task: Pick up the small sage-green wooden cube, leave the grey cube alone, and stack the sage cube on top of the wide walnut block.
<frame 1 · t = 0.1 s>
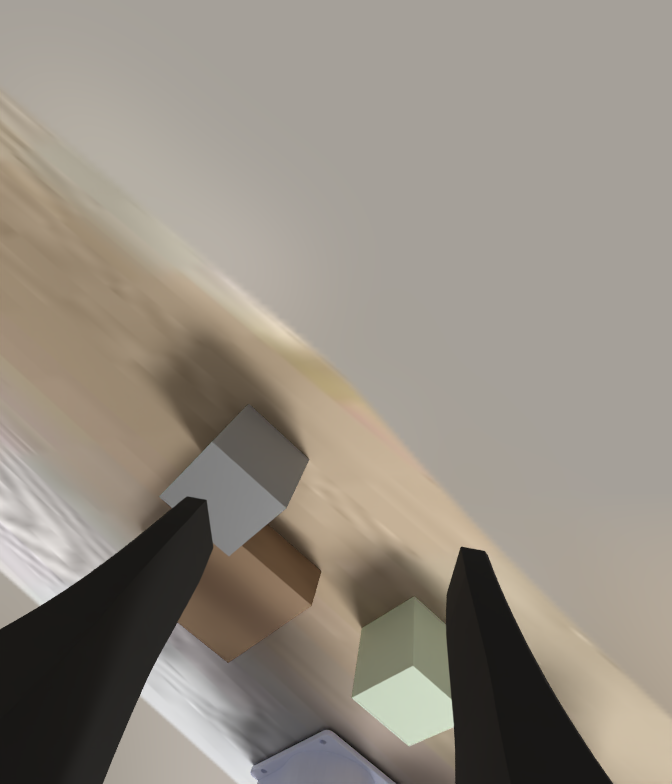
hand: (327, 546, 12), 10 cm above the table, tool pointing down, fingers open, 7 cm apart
sage block: (412, 633, 27), on the table
grey block: (254, 455, 24), on the table
walnut block: (236, 557, 28), on the table
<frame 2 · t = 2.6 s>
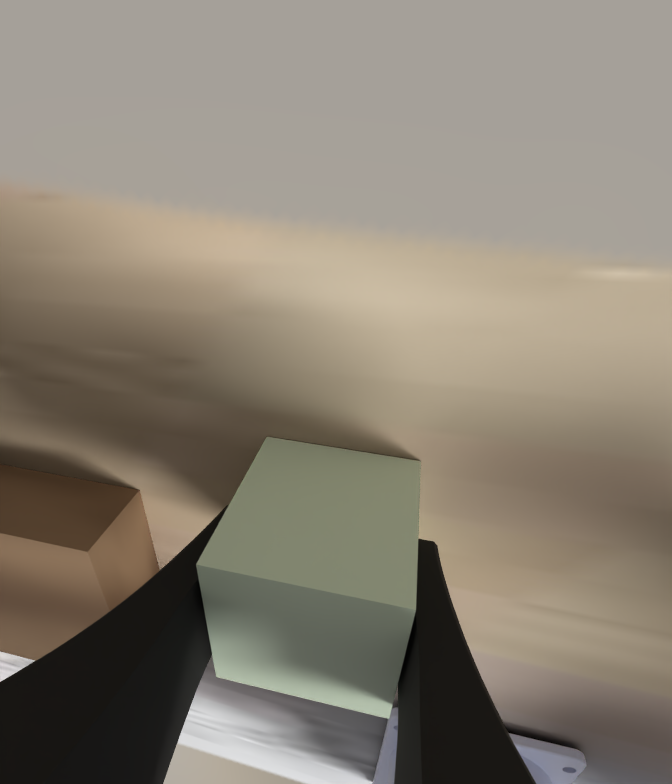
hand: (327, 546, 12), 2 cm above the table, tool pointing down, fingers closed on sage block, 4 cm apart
sage block: (337, 504, 14), on the table, touching gripper
walnut block: (74, 538, 18), on the table
when the fingers open (6 cm above the table, at t = 5.9 s): sage block drops 2 cm, resting on walnut block.
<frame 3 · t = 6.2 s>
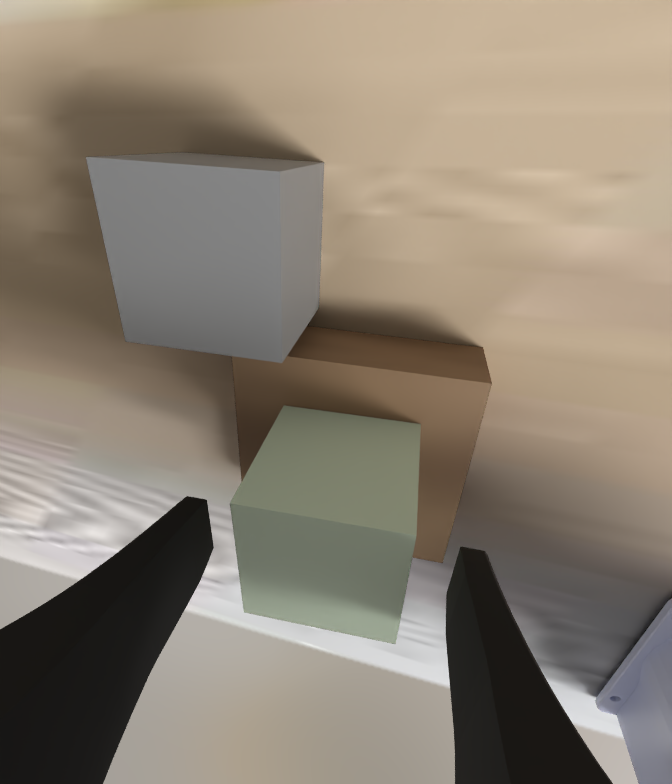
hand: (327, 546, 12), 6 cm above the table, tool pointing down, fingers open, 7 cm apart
sage block: (347, 467, 15), point 3 cm above the table, touching walnut block
grey block: (255, 234, 14), on the table
walnut block: (359, 419, 18), on the table, touching sage block
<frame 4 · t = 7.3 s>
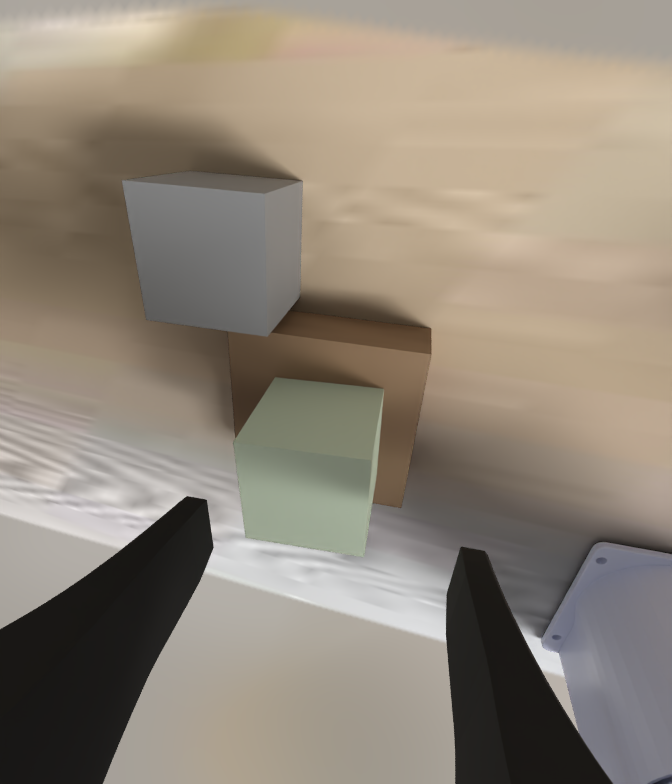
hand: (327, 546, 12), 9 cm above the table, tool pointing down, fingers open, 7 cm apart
sage block: (328, 428, 19), point 3 cm above the table, touching walnut block
grey block: (248, 236, 18), on the table
walnut block: (334, 390, 21), on the table, touching sage block
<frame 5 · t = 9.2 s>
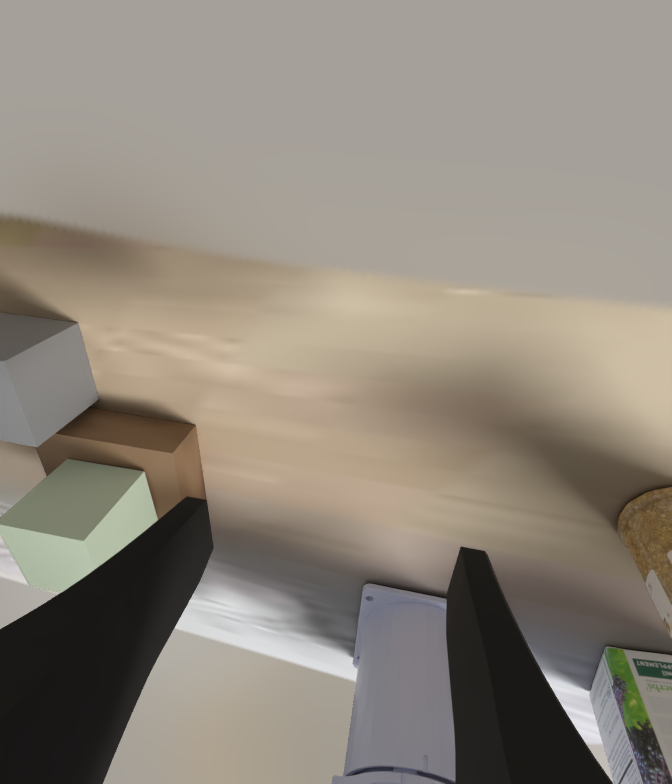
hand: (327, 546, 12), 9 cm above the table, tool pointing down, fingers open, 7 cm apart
sage block: (115, 496, 24), point 3 cm above the table
grey block: (52, 356, 23), on the table
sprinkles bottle: (666, 514, 21), on the table
syrup box: (643, 672, 27), on the table
walnut block: (145, 464, 26), on the table
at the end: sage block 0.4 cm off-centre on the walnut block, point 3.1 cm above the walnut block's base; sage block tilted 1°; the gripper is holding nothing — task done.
